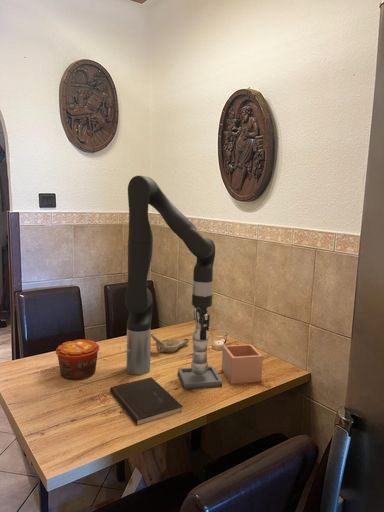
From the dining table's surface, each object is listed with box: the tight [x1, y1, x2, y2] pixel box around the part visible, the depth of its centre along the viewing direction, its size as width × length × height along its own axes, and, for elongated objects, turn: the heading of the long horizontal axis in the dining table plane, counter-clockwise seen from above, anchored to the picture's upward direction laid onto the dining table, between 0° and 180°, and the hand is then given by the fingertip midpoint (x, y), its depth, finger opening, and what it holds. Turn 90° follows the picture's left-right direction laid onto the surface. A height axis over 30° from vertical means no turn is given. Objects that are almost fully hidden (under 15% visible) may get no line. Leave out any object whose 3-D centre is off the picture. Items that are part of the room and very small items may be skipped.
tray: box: [177, 365, 223, 390], centre depth 142 cm, size 14×13×2 cm
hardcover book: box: [109, 376, 184, 426], centre depth 125 cm, size 16×23×2 cm
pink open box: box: [221, 343, 264, 385], centre depth 146 cm, size 12×12×10 cm
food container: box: [55, 339, 100, 381], centre depth 144 cm, size 16×16×11 cm
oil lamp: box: [151, 333, 190, 354], centre depth 169 cm, size 9×21×10 cm, turn 130°
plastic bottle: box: [190, 321, 210, 375], centre depth 140 cm, size 6×7×20 cm
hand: (200, 336), depth 139 cm, fingers closed on plastic bottle, 6 cm apart
